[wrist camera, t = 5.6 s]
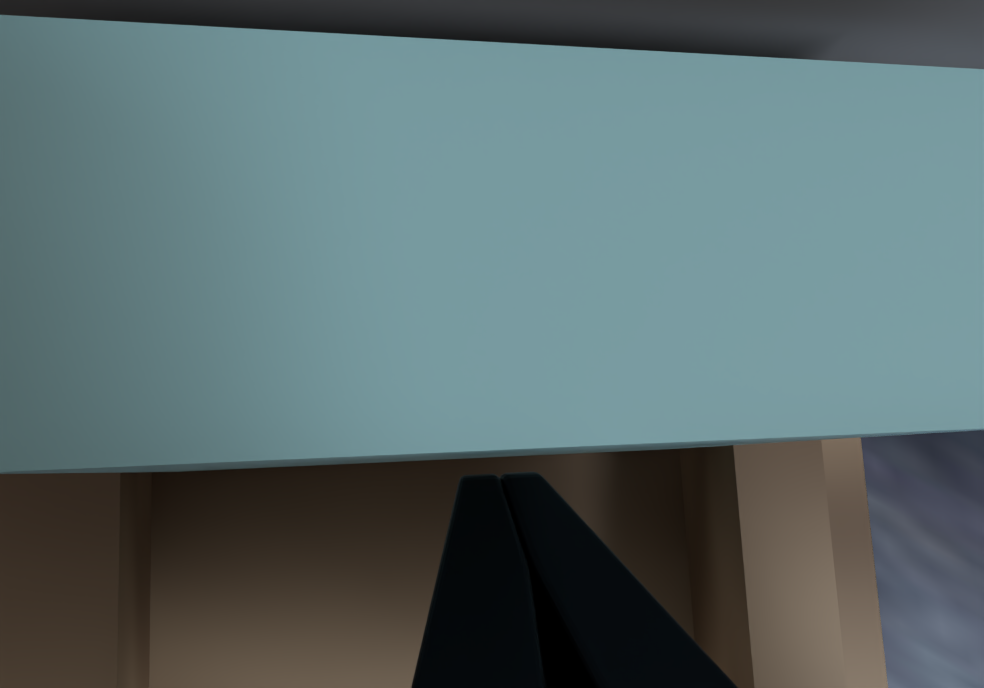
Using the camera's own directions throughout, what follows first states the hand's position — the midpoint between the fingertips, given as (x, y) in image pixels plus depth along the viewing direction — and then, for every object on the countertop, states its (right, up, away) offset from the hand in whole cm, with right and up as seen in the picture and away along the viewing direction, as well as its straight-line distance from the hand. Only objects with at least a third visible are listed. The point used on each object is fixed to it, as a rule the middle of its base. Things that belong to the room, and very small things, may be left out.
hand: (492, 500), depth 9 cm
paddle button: (-1, +1, +5) cm, 5 cm away
